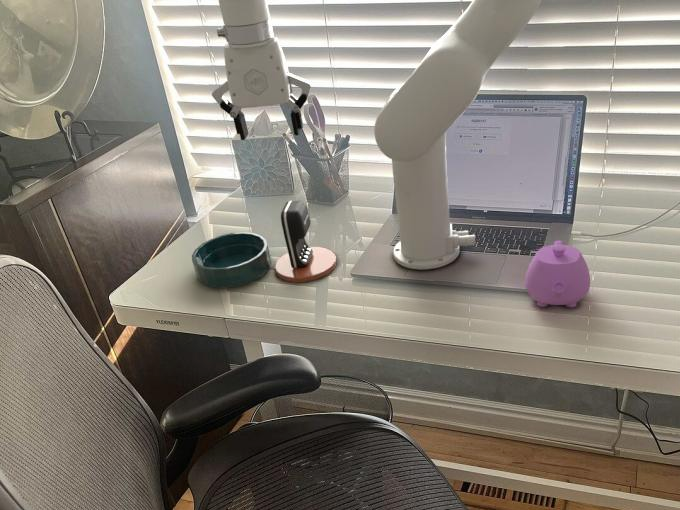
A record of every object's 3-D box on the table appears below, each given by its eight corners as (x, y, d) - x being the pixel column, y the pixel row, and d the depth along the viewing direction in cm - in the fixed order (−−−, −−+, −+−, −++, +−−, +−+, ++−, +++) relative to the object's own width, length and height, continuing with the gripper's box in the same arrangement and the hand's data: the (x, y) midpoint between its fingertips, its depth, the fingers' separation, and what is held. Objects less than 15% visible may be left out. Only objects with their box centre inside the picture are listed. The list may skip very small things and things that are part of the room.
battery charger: (310, 269, 128) (299, 213, 121) (291, 270, 129) (278, 214, 122) (317, 250, 134) (307, 196, 127) (298, 251, 134) (287, 197, 127)
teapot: (588, 276, 119) (591, 227, 113) (590, 326, 107) (594, 274, 101) (526, 275, 121) (527, 227, 115) (522, 324, 109) (523, 273, 104)
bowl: (278, 250, 138) (273, 230, 135) (263, 288, 126) (258, 266, 124) (209, 254, 139) (203, 234, 136) (189, 292, 128) (182, 271, 125)
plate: (339, 249, 135) (339, 244, 135) (332, 280, 126) (331, 275, 125) (282, 253, 136) (281, 248, 136) (270, 284, 127) (269, 279, 127)
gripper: (192, 43, 110) (219, 146, 120) (298, 33, 109) (316, 138, 119) (204, 32, 116) (228, 131, 126) (304, 22, 115) (321, 123, 125)
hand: (271, 135), depth 123 cm, fingers open, 9 cm apart
